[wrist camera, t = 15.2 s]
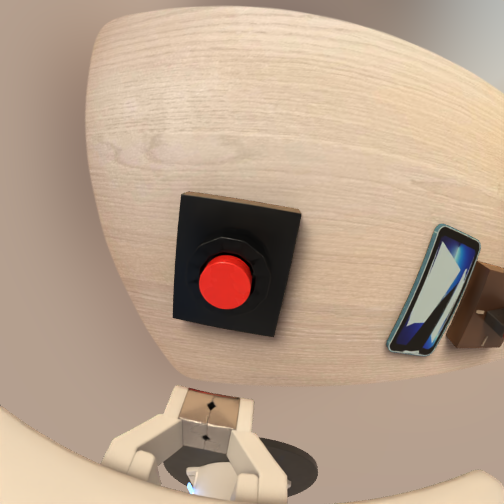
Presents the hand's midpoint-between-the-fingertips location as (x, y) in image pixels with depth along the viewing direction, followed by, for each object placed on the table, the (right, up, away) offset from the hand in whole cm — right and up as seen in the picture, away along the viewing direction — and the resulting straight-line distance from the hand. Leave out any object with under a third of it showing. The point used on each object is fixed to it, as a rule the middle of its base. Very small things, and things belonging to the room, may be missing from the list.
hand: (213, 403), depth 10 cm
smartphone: (+22, +1, +17) cm, 27 cm away
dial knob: (+31, -2, +14) cm, 34 cm away
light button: (0, +4, +14) cm, 14 cm away
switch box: (0, +5, +17) cm, 18 cm away
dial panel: (+31, -1, +16) cm, 35 cm away
